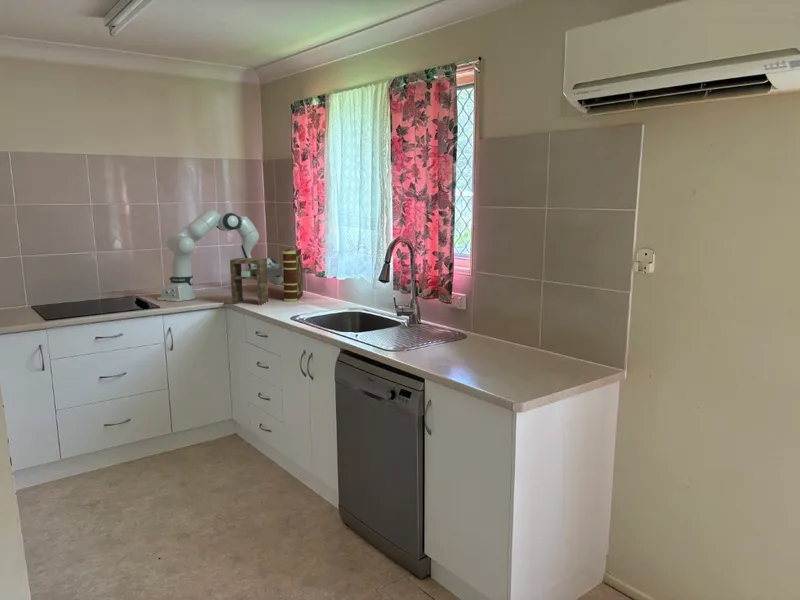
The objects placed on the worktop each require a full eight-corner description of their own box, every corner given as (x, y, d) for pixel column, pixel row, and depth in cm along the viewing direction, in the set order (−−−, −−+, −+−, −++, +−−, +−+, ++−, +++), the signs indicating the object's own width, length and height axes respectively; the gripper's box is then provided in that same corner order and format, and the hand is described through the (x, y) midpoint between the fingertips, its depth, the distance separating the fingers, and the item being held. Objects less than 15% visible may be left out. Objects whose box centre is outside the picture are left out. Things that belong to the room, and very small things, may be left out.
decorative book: (296, 301, 355) (295, 251, 349) (283, 301, 355) (281, 251, 350) (303, 295, 377) (301, 248, 372) (290, 295, 377) (289, 248, 372)
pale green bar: (241, 276, 341) (241, 271, 340) (254, 272, 359) (253, 267, 359) (248, 276, 340) (247, 271, 340) (260, 272, 359) (260, 267, 358)
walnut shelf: (232, 304, 345) (229, 259, 341) (239, 301, 356) (237, 258, 352) (261, 305, 343) (259, 260, 338) (268, 301, 354) (266, 258, 349)
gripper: (255, 266, 383) (248, 257, 371) (286, 267, 381) (279, 258, 368) (254, 275, 381) (246, 267, 368) (284, 276, 378) (277, 267, 366)
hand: (263, 262), depth 368 cm, fingers open, 8 cm apart
